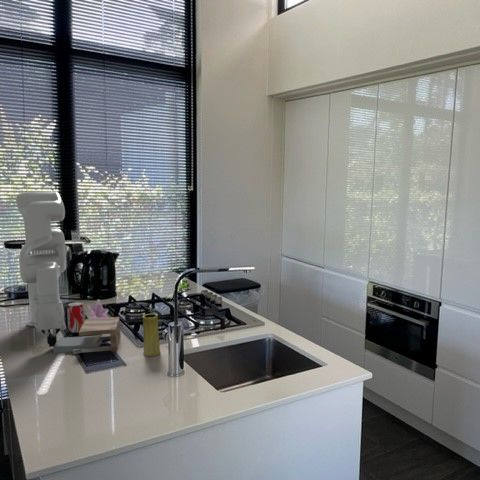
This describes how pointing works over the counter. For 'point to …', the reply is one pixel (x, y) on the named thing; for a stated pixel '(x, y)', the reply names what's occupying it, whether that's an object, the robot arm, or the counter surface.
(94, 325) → the shelf
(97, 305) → the lily
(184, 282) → the leek
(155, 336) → the vase
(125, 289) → the counter surface
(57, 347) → the grey book
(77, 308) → the soda can
